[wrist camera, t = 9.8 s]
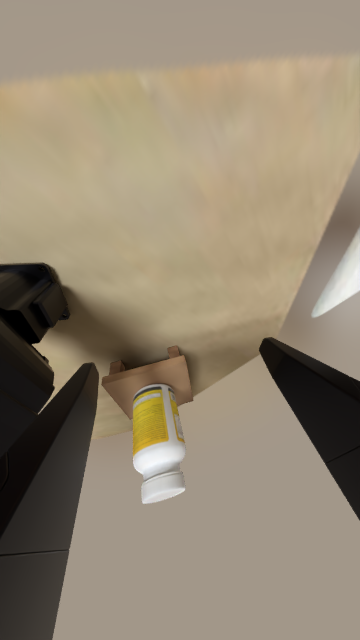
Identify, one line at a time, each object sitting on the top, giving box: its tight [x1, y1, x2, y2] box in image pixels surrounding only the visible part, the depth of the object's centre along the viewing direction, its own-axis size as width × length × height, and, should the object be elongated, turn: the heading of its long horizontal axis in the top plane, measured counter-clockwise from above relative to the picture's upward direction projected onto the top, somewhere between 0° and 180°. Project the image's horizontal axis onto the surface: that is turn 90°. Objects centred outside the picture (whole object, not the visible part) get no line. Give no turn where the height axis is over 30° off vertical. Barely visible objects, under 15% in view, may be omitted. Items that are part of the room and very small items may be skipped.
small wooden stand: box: [101, 346, 193, 420], centre depth 28 cm, size 12×12×4 cm
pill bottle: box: [133, 384, 186, 504], centre depth 22 cm, size 6×6×12 cm
